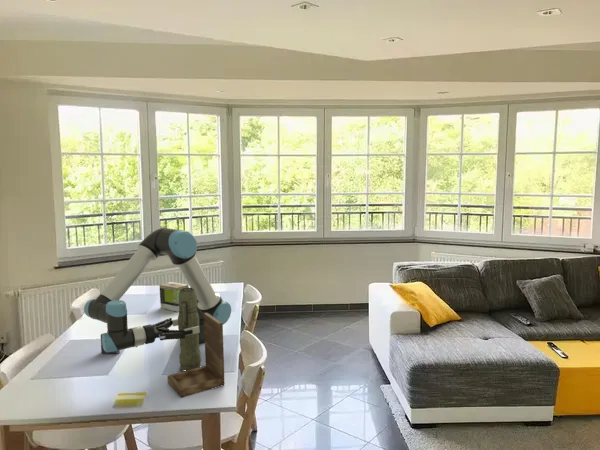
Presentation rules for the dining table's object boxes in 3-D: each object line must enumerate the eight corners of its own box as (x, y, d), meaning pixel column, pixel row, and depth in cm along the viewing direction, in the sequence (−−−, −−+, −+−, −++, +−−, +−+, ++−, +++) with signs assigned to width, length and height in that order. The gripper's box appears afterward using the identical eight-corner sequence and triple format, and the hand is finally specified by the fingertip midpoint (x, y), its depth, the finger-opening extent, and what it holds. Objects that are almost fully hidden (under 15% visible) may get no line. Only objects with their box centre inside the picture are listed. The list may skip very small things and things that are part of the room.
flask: (121, 352, 226) (119, 330, 224) (117, 355, 223) (115, 333, 221) (103, 351, 228) (101, 329, 226) (99, 353, 225) (98, 331, 223)
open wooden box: (209, 371, 205) (207, 312, 202) (224, 385, 193) (222, 322, 189) (167, 382, 195) (164, 321, 192) (181, 398, 183) (178, 332, 179)
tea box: (190, 308, 291) (189, 284, 288) (177, 312, 282) (176, 288, 280) (172, 304, 298) (171, 280, 296) (159, 308, 290) (158, 284, 288)
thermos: (203, 361, 216) (200, 285, 210) (198, 373, 204) (195, 292, 199) (183, 361, 215) (179, 285, 210) (177, 373, 204) (173, 293, 198)
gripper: (135, 334, 207) (182, 324, 219) (153, 354, 186) (204, 342, 198) (134, 317, 206) (182, 308, 217) (152, 335, 185) (204, 324, 197)
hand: (193, 324), depth 208 cm, fingers open, 13 cm apart
